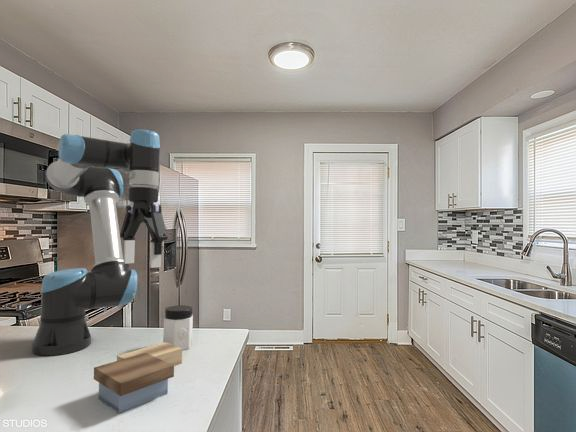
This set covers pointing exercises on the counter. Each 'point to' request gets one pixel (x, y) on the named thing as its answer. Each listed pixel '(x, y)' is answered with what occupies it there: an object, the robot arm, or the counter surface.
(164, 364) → the lid
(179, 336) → the jar
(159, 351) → the tan wooden block
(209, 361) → the counter surface
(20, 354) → the counter surface
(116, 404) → the dish
